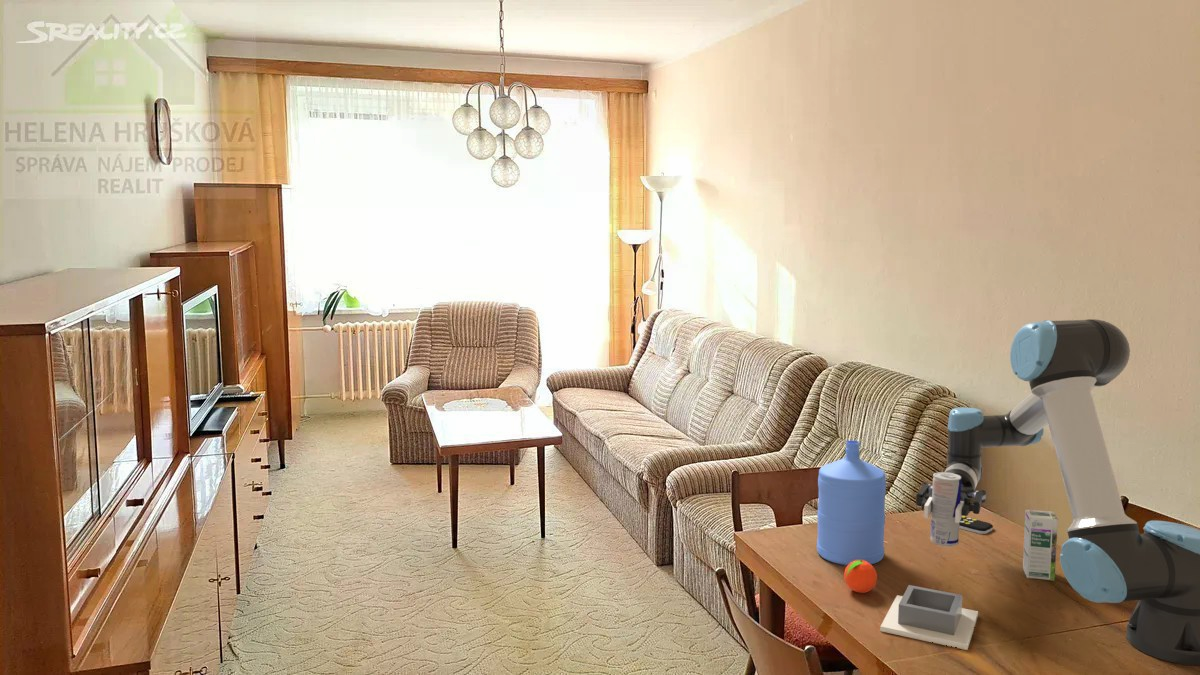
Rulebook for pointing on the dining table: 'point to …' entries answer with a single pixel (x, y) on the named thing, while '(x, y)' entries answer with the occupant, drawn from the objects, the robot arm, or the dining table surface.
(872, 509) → the water jug
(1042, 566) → the syrup box
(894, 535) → the dining table surface
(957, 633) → the can holder
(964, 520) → the remote control
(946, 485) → the beverage can
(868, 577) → the clementine
